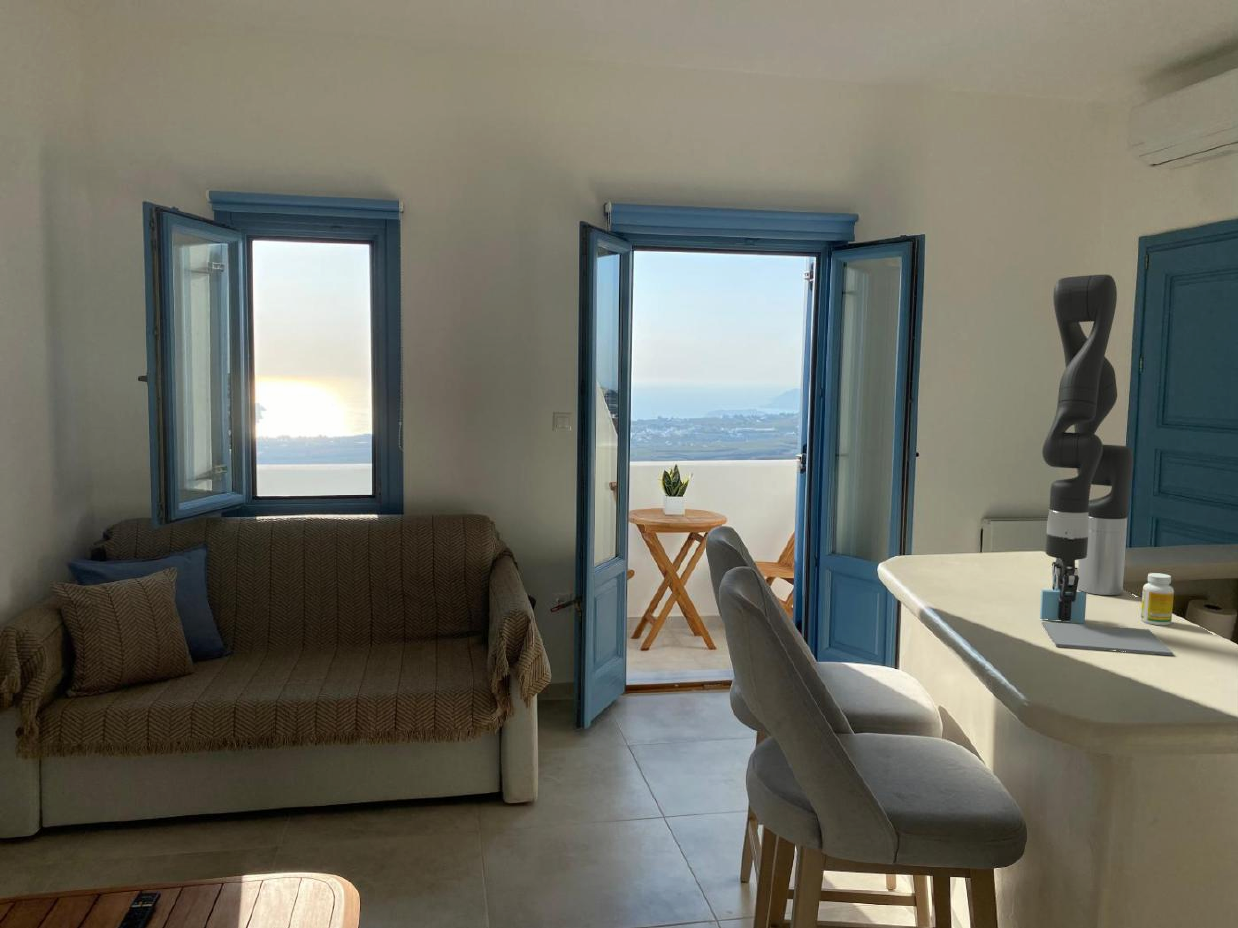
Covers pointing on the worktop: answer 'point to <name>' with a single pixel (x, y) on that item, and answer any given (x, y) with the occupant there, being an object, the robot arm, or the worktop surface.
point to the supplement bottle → (1157, 600)
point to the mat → (1105, 638)
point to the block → (1052, 603)
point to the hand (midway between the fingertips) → (1062, 617)
